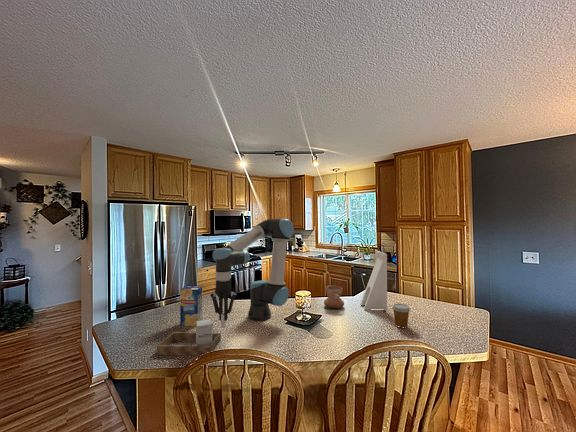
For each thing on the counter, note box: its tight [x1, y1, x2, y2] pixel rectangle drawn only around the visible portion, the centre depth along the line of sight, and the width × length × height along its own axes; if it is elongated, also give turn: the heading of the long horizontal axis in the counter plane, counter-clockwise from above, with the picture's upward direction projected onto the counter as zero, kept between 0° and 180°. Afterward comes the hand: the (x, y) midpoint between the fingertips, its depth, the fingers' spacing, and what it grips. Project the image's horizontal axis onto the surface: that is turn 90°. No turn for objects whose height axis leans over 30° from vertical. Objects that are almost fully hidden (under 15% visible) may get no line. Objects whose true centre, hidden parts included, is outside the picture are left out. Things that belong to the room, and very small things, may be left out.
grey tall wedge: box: [359, 249, 388, 312], centre depth 183 cm, size 20×14×40 cm
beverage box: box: [179, 285, 203, 327], centre depth 157 cm, size 7×11×22 cm, turn 86°
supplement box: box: [195, 318, 213, 346], centre depth 128 cm, size 7×7×13 cm
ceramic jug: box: [323, 284, 345, 310], centre depth 185 cm, size 18×14×14 cm
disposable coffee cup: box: [392, 303, 411, 327], centre depth 151 cm, size 10×10×12 cm
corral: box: [156, 331, 222, 357], centre depth 128 cm, size 26×15×4 cm, turn 87°
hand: (223, 326), depth 127 cm, fingers closed
